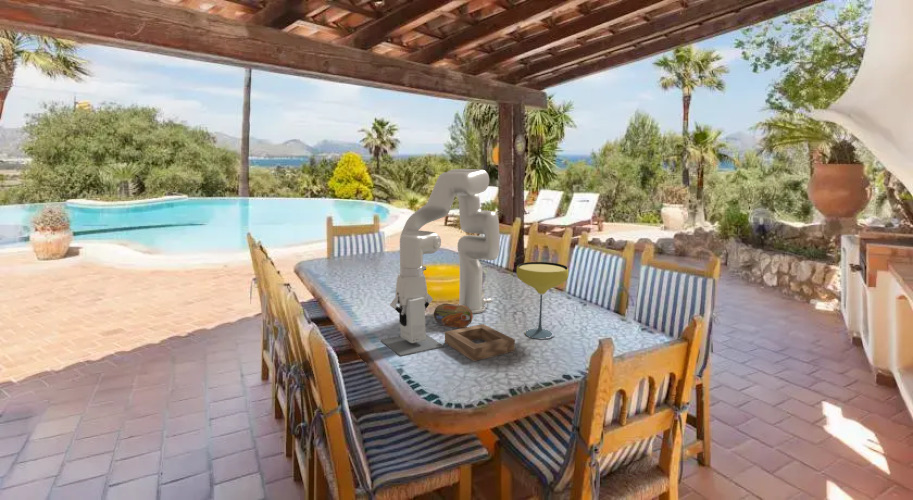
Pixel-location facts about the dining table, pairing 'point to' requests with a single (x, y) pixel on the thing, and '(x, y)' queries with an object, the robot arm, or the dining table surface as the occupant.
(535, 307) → the dining table surface
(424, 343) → the mat
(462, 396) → the dining table surface
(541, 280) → the cocktail glass
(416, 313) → the skincare box
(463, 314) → the tin
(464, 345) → the frame
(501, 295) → the dining table surface
